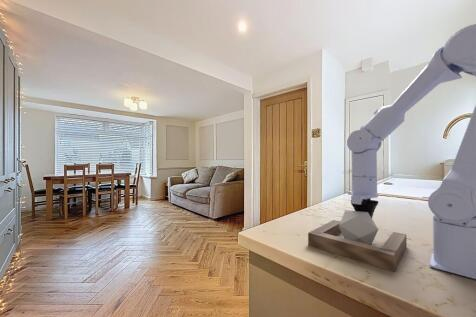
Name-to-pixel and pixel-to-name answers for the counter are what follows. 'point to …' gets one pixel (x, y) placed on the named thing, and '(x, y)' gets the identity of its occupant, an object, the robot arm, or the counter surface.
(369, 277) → the counter surface
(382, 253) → the pocket
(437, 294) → the counter surface
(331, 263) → the counter surface
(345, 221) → the die
